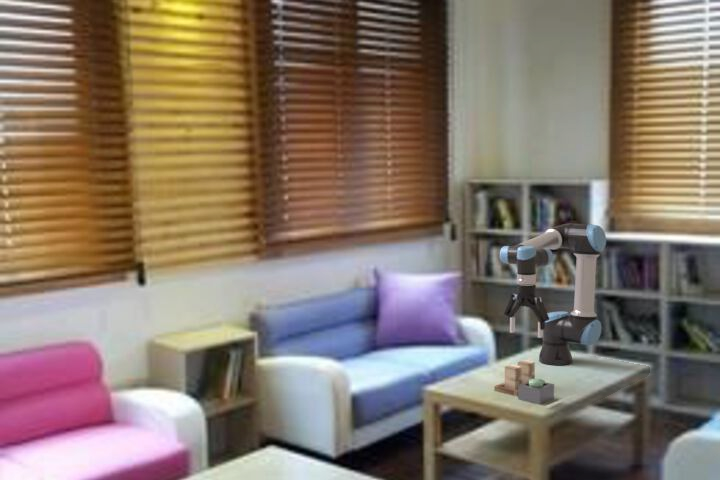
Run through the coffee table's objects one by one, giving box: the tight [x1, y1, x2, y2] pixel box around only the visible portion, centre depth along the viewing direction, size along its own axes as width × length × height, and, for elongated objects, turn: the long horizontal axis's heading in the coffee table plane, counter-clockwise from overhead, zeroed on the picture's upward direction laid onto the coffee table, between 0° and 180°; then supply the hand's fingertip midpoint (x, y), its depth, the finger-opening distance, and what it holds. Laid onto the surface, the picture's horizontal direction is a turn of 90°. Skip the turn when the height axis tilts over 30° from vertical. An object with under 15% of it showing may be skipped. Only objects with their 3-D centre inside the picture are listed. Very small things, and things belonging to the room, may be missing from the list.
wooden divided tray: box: [493, 379, 545, 397], centre depth 341 cm, size 20×11×3 cm, turn 135°
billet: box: [517, 359, 536, 383], centre depth 344 cm, size 5×5×10 cm
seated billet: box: [504, 364, 522, 390], centre depth 338 cm, size 5×5×10 cm
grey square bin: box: [517, 381, 555, 406], centre depth 326 cm, size 10×10×7 cm
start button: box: [529, 378, 543, 388], centre depth 326 cm, size 6×6×3 cm
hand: (526, 334), depth 342 cm, fingers open, 13 cm apart
